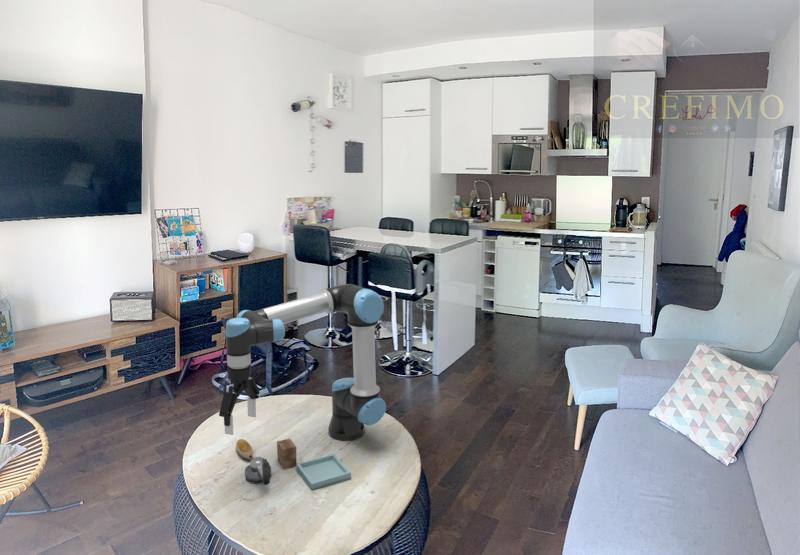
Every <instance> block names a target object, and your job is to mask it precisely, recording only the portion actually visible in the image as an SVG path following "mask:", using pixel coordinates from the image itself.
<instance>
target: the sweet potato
mask: <svg viewBox="0 0 800 555" xmlns="http://www.w3.org/2000/svg"><path fill="white" fill-rule="evenodd" d="M235 448H236V451H237V453H238V454H239V456H241V458H243V459H246V460H251V459H253V456H254V451H253V448H252V446H251V444H250V443H249V442H248V441H247V440H245V439H243V438H240V439H238V440H236V445H235Z"/></svg>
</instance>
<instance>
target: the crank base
mask: <svg viewBox="0 0 800 555" xmlns="http://www.w3.org/2000/svg"><path fill="white" fill-rule="evenodd" d="M269 467H270V478H271V477H272V467H271V464H269ZM244 478H245V481H246V482H247V483H250V484H253V485H254V484H263V480H262V478H261V477H260V475H259V474H258V472H253V471H251V465H250V464H248V465H247V466H246V467H245V469H244Z"/></svg>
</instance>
